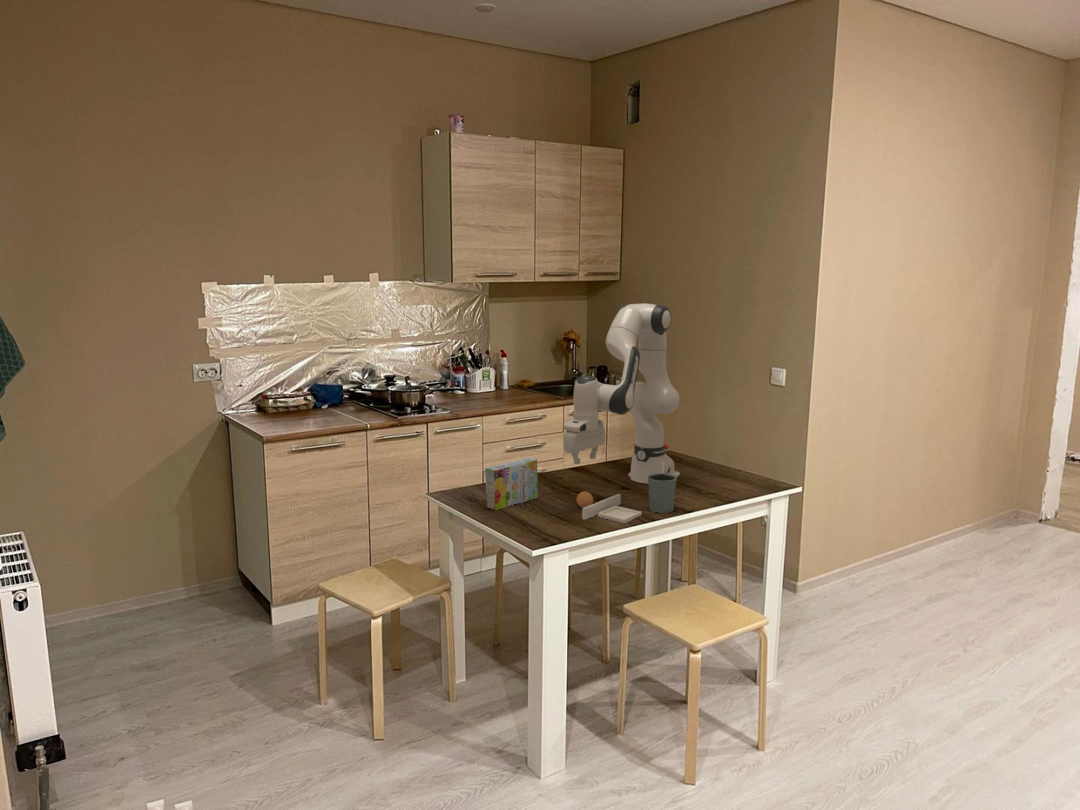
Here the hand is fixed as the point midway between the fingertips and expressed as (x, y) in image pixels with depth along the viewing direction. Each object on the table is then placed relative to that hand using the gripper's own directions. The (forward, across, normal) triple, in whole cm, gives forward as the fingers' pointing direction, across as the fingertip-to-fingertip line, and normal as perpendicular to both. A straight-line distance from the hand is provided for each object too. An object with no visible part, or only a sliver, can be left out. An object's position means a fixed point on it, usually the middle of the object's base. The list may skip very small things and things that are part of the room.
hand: (584, 461), depth 286 cm
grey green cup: (+17, -16, +22) cm, 32 cm away
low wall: (+17, 0, +8) cm, 19 cm away
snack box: (+18, +12, -24) cm, 32 cm away
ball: (+14, 0, 0) cm, 14 cm away
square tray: (+17, 0, +15) cm, 23 cm away
